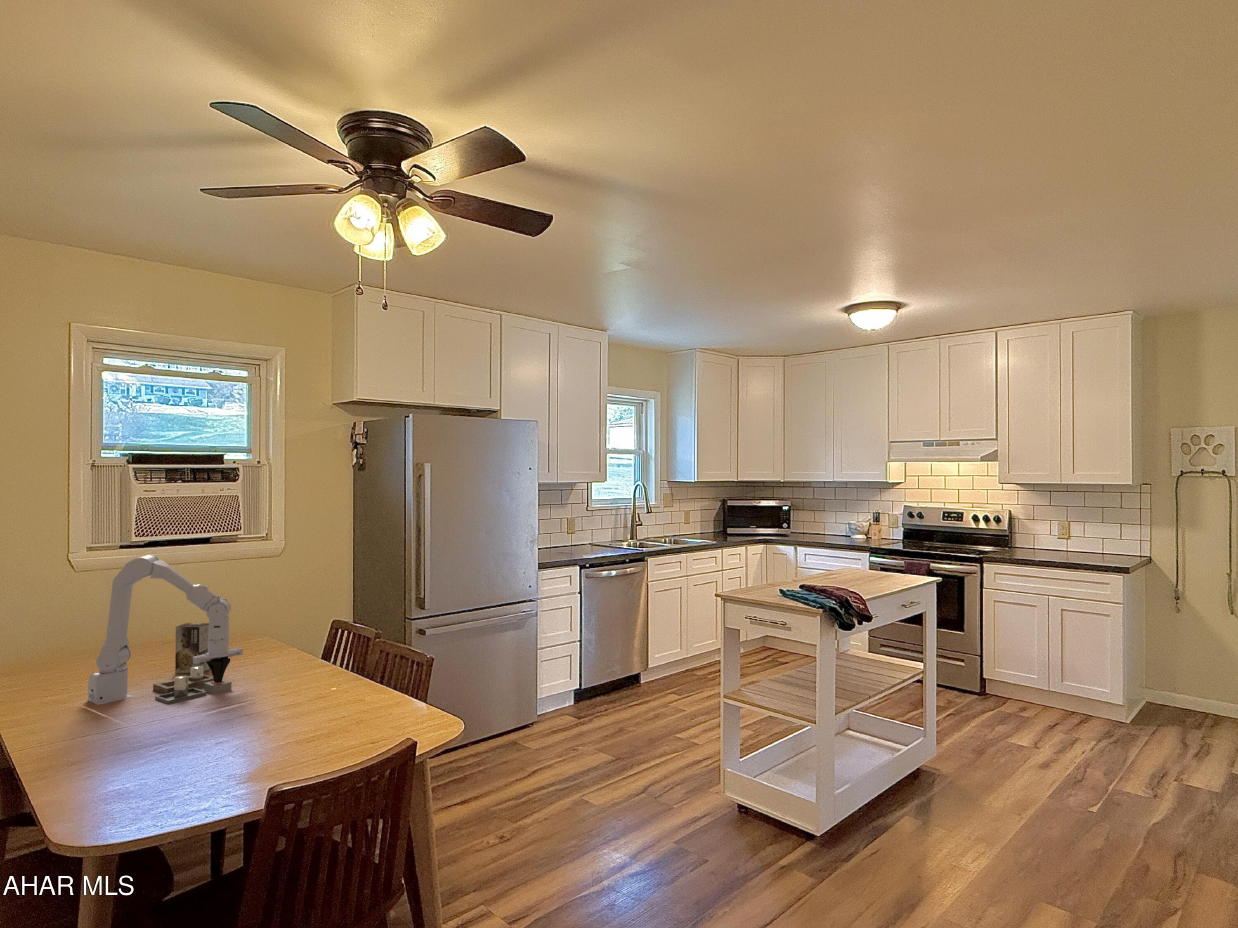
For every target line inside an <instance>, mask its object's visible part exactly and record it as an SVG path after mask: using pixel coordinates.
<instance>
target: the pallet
mask: <svg viewBox="0 0 1238 928" xmlns="http://www.w3.org/2000/svg"><path fill="white" fill-rule="evenodd" d="M187 676H188V689H189V688H196V689H200V688H202V689H203V688H204V683H207V682H211V681H214V679H213V675H208V674H205V673H203V679H202V680H198V681H193V682H191V681H190V675H187ZM152 692H157V693H159V694H161V695H162V694H166V693H171V692H174V679H169V680H166V681H161V682H160V681H159V682H155V683H153V684H152Z"/></svg>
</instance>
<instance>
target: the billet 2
mask: <svg viewBox="0 0 1238 928" xmlns="http://www.w3.org/2000/svg"><path fill="white" fill-rule="evenodd" d="M189 674H190V675H189V676H190V681H191V682H193V681H198V680H202V679H203V674H204V672H203V666H195V667H192V668H191V673H189Z"/></svg>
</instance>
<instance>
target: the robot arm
mask: <svg viewBox="0 0 1238 928" xmlns="http://www.w3.org/2000/svg"><path fill="white" fill-rule="evenodd" d="M149 576H150V577H149ZM147 577H149V578H150V579H160V580H161V579H162V580H164V581H166V582H167V583H169V584H170V585H172V586H174V587H175V588H177V589H178V590H180V591H182V592H183V593H184V594H185V597H186V600H187V601H189V602H190V603H191V604H193V605H195V606H196V607H197V608H199V609H200V610H202V611H203V612H205V613H206V616H207V618H208V623H209V632H208V653H206V654H202V655H199V656H195V657H193V663H194V664H199V663H201V662H206V663H207V664H208V666H209V668H210V669H209V670H210V672H211V676H212V677H213V679H214V682H216V683H220V682H222V679H224V675H225V673H226V670H227V668H228V667H229V664H230V663H231V658H230V657H235V656H243V655H244V653H243V652H244V651H243V650H244V649H243V648H242V647H241V648H240V647H238V648H231V649H230V615H229V613H231V611H232V605H231V603H230V601H228V599H227V598H222V596H221V595H220V594H218V595H216V594H215V593H214V592H212V591H211V590H209V586H208V585H206V584H205V585H203V584H194V583H192V582H191V581H190V580H189V579H188V578H186V577H185V576H183V575H182V574H181V573H180V572H178V570H176V569H175V568H173V567H172V566H171V565H169V564H168V563H167V562H166V561H164V560H162V559H159V557H158V556H156V555H153V554H146V555H143V556H140V557H136V558H134V559H131V560H130V561H128V562H127V563H125V564H124V566H123V568H122V569H120V571H119V572H118V573H117V575H115V577H114V578H113V580H112V586H111V594H110V600H109V601H110V602H109V612H108V622H107V629H106V636H105V637H106V638H105V640H104V641H103V643H102V645H101V651H100V653H99V654H98V656H97V658H96V660H95V661H96V662H95V663H96V666H97V668H98V672H95V673H92V674H90V675H89V676H88V681H87V687H88V688H87V699H86V701H88V702H90V703H93V704H95V705H103V704H107V703H112V702H117V701H121V700H127V699H130V698H133V697H134V696H133V695H131V694H128V684H129V683H128V682H129V681H128V678H129V677H128V675H129V674H128V673H129V665H128V664H127V662H128V661H129V660H130V658H131V656H132V655H131V654H132V653H131V649H130V647H129V638H128V628H129V619H130V610H131V603H132V602H131V601H132V591H133V586H134V585H136V584H137V583H138V582H140V581H141V580H143V579H145V578H147Z"/></svg>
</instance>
